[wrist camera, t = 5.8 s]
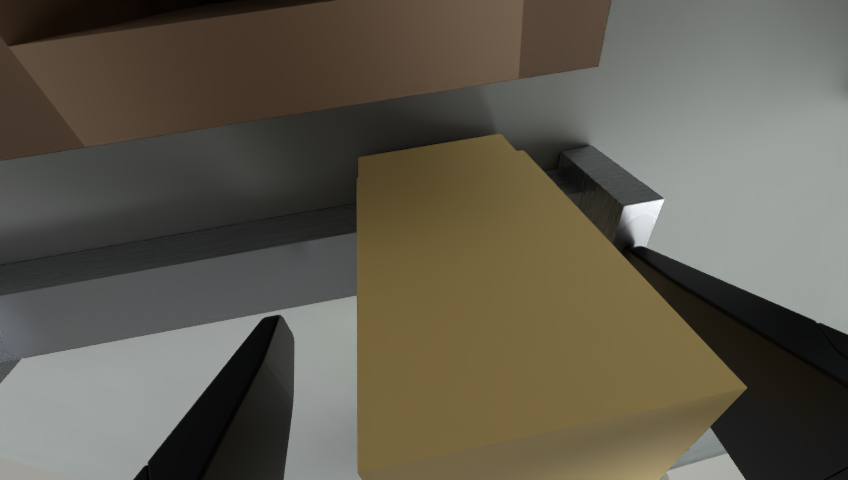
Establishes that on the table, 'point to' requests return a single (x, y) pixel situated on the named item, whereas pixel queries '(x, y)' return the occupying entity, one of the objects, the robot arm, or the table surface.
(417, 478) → the block
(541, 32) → the brown wooden box
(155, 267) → the rail
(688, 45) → the table surface
